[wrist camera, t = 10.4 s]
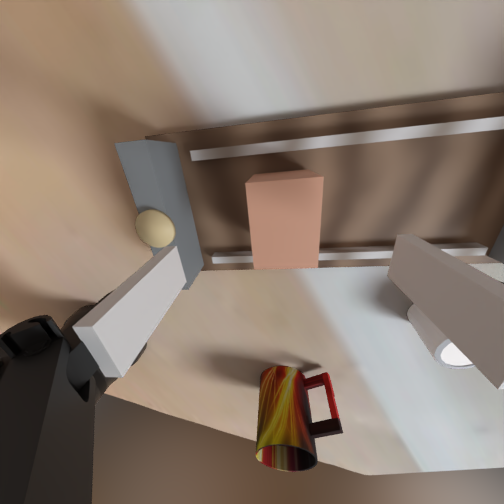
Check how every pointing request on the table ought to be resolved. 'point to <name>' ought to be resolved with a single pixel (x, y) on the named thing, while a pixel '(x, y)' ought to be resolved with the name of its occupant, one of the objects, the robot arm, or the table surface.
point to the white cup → (437, 341)
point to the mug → (291, 419)
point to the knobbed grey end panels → (177, 203)
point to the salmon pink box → (285, 218)
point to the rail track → (358, 179)
